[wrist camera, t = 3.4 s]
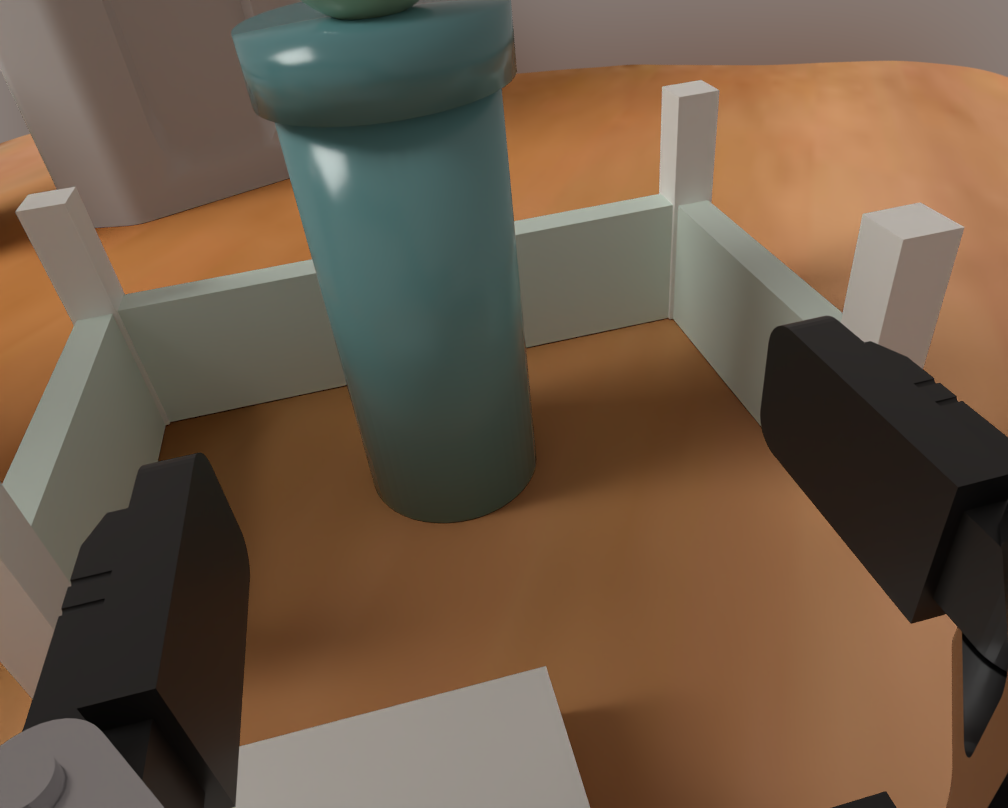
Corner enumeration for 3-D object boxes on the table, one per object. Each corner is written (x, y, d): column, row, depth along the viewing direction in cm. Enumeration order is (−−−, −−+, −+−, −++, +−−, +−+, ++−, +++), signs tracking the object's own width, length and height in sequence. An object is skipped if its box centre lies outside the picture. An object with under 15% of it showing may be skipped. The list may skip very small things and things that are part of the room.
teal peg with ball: (325, 468, 26) (110, -198, 15) (464, 384, 29) (369, -217, 18) (440, 565, 22) (262, -241, 11) (587, 456, 25) (560, -257, 14)
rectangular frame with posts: (881, 511, 22) (964, 227, 17) (50, 720, 19) (-174, 460, 14) (688, 296, 33) (700, 80, 28) (135, 410, 30) (27, 194, 25)
